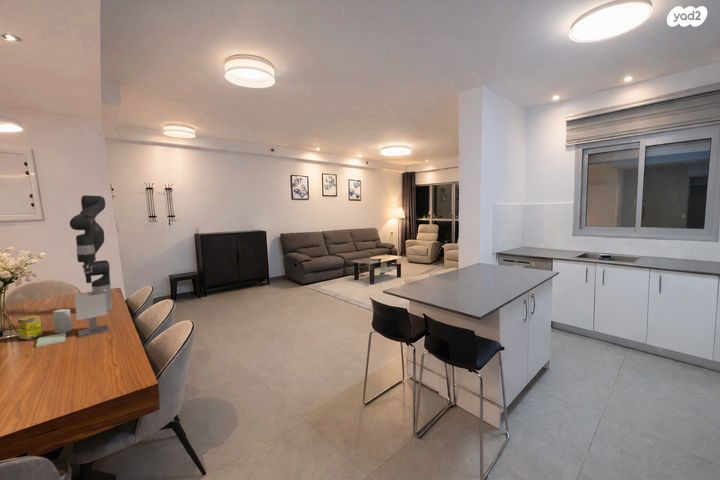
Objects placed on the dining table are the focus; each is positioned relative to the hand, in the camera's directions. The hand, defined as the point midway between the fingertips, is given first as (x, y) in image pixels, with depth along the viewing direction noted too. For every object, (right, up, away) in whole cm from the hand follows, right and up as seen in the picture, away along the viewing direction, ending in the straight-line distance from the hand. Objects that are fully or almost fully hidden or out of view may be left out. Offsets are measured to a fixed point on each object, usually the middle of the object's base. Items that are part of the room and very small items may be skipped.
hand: (88, 281), depth 169 cm
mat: (-4, -28, -16) cm, 33 cm away
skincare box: (-9, -27, -5) cm, 29 cm away
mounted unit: (+7, -27, -5) cm, 28 cm away
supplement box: (-18, -28, -13) cm, 36 cm away
